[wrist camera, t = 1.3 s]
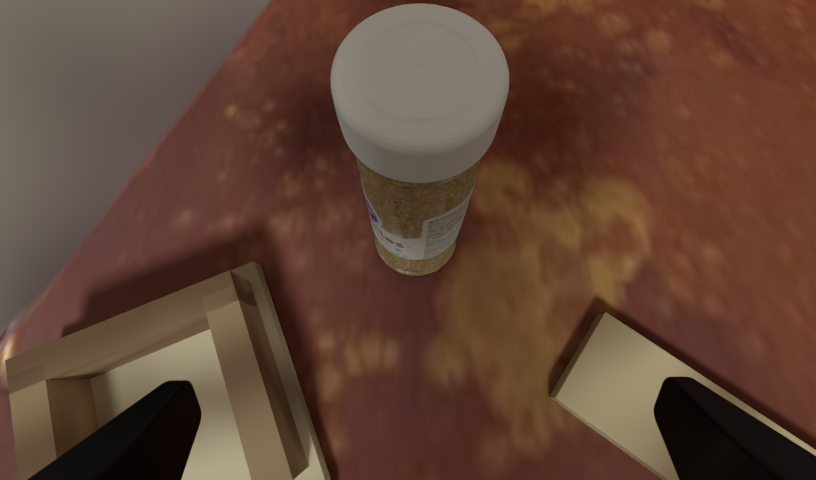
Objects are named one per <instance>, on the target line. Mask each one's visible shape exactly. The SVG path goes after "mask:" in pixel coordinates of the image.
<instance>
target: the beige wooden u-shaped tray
mask: <svg viewBox="0 0 816 480" xmlns="http://www.w3.org/2000/svg"><path fill="white" fill-rule="evenodd" d="M5 362H6V371H7V380H8V388H9V397H10V406H11V415H12V424H13V432H14V441H15V450H16V459H17V467H18V476H19V480H27V479H29V478H30V477H32V476H33V475H34V474H36V473H37V472H39V471H40V470H41V469H43V468H44V467H46V466H47V465H48V464H50V463H51V462H53V461H54V460H55V459H57V458H58V457H60V456H61V455H62V454H64V453H65V452H67V451H68V450H69V449H71V448H72V447H74V446H75V445H77V444H78V443H79V442H81V441H82V440H84V439H85V438H86V437H88V436H89V435H91V434H92V433H93V432H95V431H96V430H98V429H99V428H100V427H102V426H103V425H105V424H106V423H107V422H109V421H110V420H112V419H113V418H114V417H116V416H117V415H119V414H120V413H122V412H123V411H124V410H126V409H127V408H129V407H130V406H131V405H133V404H134V403H136V402H137V401H138V400H140V399H141V398H143V397H144V396H145V395H147V394H148V393H150V392H151V391H152V390H154V389H155V388H157V387H158V386H159V385H161V384H162V383H164V382H166V381H170V380H187V381H189V382H191V383H192V385H193V388H194V391H195V393H196V396H197V399H198V402H199V405H200V408H201V422H200V425H199V428H198V431H197V434H196V437H195V440H194V443H193V446H192V449H191V452H190V455H189V458H188V461H187V464H186V467H185V470H184V473H183V476H182V479H181V480H331V478H330V475H329V472H328V469H327V466H326V462H325V459H324V456H323V453H322V450H321V447H320V444H319V441H318V438H317V435H316V432H315V429H314V426H313V423H312V420H311V417H310V414H309V411H308V408H307V405H306V402H305V399H304V396H303V393H302V389H301V386H300V383H299V380H298V377H297V374H296V371H295V368H294V365H293V362H292V359H291V356H290V353H289V350H288V347H287V344H286V341H285V338H284V335H283V332H282V329H281V326H280V323H279V320H278V316H277V313H276V310H275V307H274V304H273V301H272V298H271V295H270V292H269V289H268V286H267V283H266V280H265V277H264V274H263V271H262V268H261V266H260V265H259V264H258V263H256V262H255V261H253V262H250V263H248V264H245V265H243V266H240V267H238V268H235V269H233V270H228V271H226V272H224V273H221V274H219V275H216V276H214V277H211V278H209V279H206V280H204V281H201V282H199V283H196V284H194V285H191V286H189V287H186V288H184V289H181V290H179V291H176V292H174V293H171V294H169V295H167V296H164V297H162V298H159V299H157V300H154V301H152V302H149V303H147V304H144V305H142V306H139V307H137V308H134V309H132V310H129V311H127V312H124V313H122V314H119V315H117V316H115V317H112V318H110V319H107V320H105V321H102V322H100V323H97V324H95V325H92V326H90V327H87V328H85V329H82V330H80V331H77V332H75V333H72V334H70V335H67V336H65V337H63V338H60V339H58V340H55V341H53V342H50V343H48V344H45V345H43V346H40V347H38V348H35V349H33V350H30V351H28V352H25V353H23V354H20V355H18V356H15V357H13V358H10V359H8V360H6V361H5Z"/></svg>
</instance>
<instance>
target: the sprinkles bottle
mask: <svg viewBox="0 0 816 480" xmlns="http://www.w3.org/2000/svg"><path fill="white" fill-rule="evenodd" d="M330 78H331V92H332V97H333V102H334V106H335V110H336V114H337V118H338V121H339V124H340V127H341V130H342V133H343V136H344V139H345V141H346V142H347V144H348V146H349V148H350V149H351V151H352V152H353V153H354V154H355V155H356V160H357V163H358V168H359V171H360V176H361V184H362V188H363V192H364V196H365V199H366V203H367V207H368V211H369V216H370V220H371V224H372V228H373V231H374V233H375V245H376V248H377V250H378V253H379V255H380V257H381V258H382V259H383V261H384V262H385V263H386V264H387V265H388V266H389V267H391V268H392V269H394V270H395V271H397V272H399V273H401V274H406V275H410V276H421V275H426V274H429V273H432V272H435V271H437V270H438V269H440V268H441V267H442V266H443V265H445V264H446V263H447V261H448V260H449V259H450V258H451V256H452V254H453V252H454V249H455V245H456V237H457V235H458V233H459V230H460V228H461V225H462V222H463V219H464V216H465V213H466V210H467V207H468V203H469V200H470V197H471V194H472V191H473V188H474V185H475V182H476V178H477V171H478V167H479V163H480V161H481V158H482V156H483V155H484V154H485V153H486V151H487V150H488V148H489V146H490V145H491V143H492V141H493V139H494V136H495V134H496V131H497V128H498V125H499V123H500V120H501V116H502V113H503V110H504V107H505V103H506V99H507V95H508V91H509V70H508V66H507V61H506V58H505V56H504V53H503V51H502V49H501V47H500V45H499V43H498V42H497V40H496V39H495V38H494V36H493V35H492V34H491V33H490V32H489V31H488V30H487V29H486V28H485V27H484V26H483V25H481V24H480V23H479V22H477V21H476V20H474V19H473V18H471V17H470V16H468V15H466V14H464V13H462V12H460V11H457V10H454V9H451V8H449V7H444V6H440V5H435V4H423V3H419V4H406V5H400V6H395V7H392V8H388V9H385V10H383V11H380V12H378V13H376V14H374V15H372V16H370V17H368V18H367V19H365V20H364V21H362V22H361V23H360V24H358V25H357V26H356V27H355V28H354V29H353V30H352V31H351V32H350V33H349V34H348V35H347V36H346V38H345V39H344V40H343V42H342V43H341V45H340V46H339V48H338V50H337V53H336V55H335V58H334V60H333V65H332V69H331V77H330Z"/></svg>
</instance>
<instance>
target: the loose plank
mask: <svg viewBox="0 0 816 480" xmlns="http://www.w3.org/2000/svg"><path fill="white" fill-rule="evenodd" d="M667 377H691V378H693V379H695V380H696V381H698V382H700V383H701V384H703V385H704V386H706V387H708V388H709V389H711V390H712V391H714V392H715V393H717V394H719V395H720V396H722V397H723V398H725V399H727V400H728V401H730V402H731V403H733V404H734V405H736V406H738V407H739V408H741V409H742V410H744V411H745V412H747V413H749V414H750V415H752V416H753V417H755V418H757V419H758V420H760V421H761V422H763V423H764V424H766V425H768V426H769V427H771V428H772V429H774V430H776V431H777V432H779V433H780V434H782V435H783V436H785V437H787V438H788V439H790V440H791V441H793V442H794V443H796V444H798V445H799V446H801V447H802V448H804V449H806V450H807V451H809V452H810V453H812V454H813V455H815V456H816V450H815V449H813V448H812V447H810V446H809V445H807V444H806V443H804V442H803V441H801V440H800V439H798V438H797V437H795V436H794V435H792V434H791V433H789V432H788V431H786V430H785V429H783V428H782V427H780V426H778V425H777V424H775V423H774V422H772V421H771V420H769V419H768V418H766V417H765V416H763V415H762V414H760V413H759V412H757V411H756V410H754V409H753V408H751V407H750V406H748V405H747V404H745V403H743V402H742V401H740V400H739V399H737V398H736V397H734V396H733V395H731V394H730V393H728V392H727V391H725V390H724V389H722V388H721V387H719V386H718V385H716V384H715V383H713V382H711V381H710V380H708V379H707V378H705V377H704V376H702V375H701V374H699V373H698V372H696V371H695V370H693V369H692V368H690V367H689V366H687V365H686V364H684V363H683V362H681V361H680V360H678V359H676V358H675V357H673V356H672V355H670V354H669V353H667V352H666V351H664V350H663V349H661V348H660V347H658V346H657V345H655V344H654V343H652V342H651V341H649V340H648V339H646V338H644V337H643V336H641V335H640V334H638V333H637V332H635V331H634V330H632V329H631V328H629V327H628V326H626V325H625V324H623V323H622V322H620V321H619V320H617V319H616V318H614V317H613V316H611V315H609V314H608V313H606V312H603V313H600V314H597V316H596V317H595V319H594V321H593V322H592V324H591V326H590V328H589V329H588V331H587V333H586V334H585V336H584V338H583V339H582V341H581V343H580V345H579V346H578V348H577V350H576V351H575V353H574V355H573V357H572V358H571V360H570V362H569V363H568V365H567V367H566V368H565V370H564V372H563V374H562V375H561V377H560V379H559V380H558V382H557V384H556V385H555V387H554V389H553V391H552V392H551V394H550V396H549V398H551V399H552V400H554V401H555V402H556V403H558V404H559V405H560V406H562V407H563V408H565V409H566V410H567V411H569V412H570V413H572V414H573V415H574V416H576V417H577V418H578V419H580V420H581V421H583V422H584V423H585V424H587V425H588V426H589V427H591V428H592V429H594V430H595V431H596V432H598V433H599V434H600V435H602V436H603V437H605V438H606V439H607V440H609V441H610V442H612V443H613V444H614V445H616V446H617V447H618V448H620V449H621V450H623V451H624V452H625V453H627V454H628V455H629V456H631V457H632V458H634V459H635V460H636V461H638V462H639V463H641V464H642V465H643V466H645V467H646V468H647V469H649V470H650V471H652V472H653V473H654V474H656V475H657V476H658V477H660V478H661V479H663V480H679V478H678V475H677V473H676V470H675V468H674V465H673V463H672V460H671V458H670V456H669V453H668V451H667V448H666V446H665V443H664V441H663V438H662V436H661V433H660V431H659V428H658V426H657V423H656V421H655V417H654V405H655V402H656V399H657V397H658V394H659V391H660V389H661V386H662V383H663V381H664V380H665V379H666V378H667Z"/></svg>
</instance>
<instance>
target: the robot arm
mask: <svg viewBox="0 0 816 480" xmlns="http://www.w3.org/2000/svg"><path fill="white" fill-rule="evenodd" d="M654 417H655V421H656V423H657V426H658V428H659V431H660V433H661V436H662V438H663V441H664V443H665V446H666V448H667V451H668V453H669V456H670V458H671V460H672V463H673V465H674V468H675V470H676V473H677V475H678V478H679V480H816V456H815V455H813V454H812V453H810V452H809V451H807V450H806V449H804V448H802V447H801V446H799V445H798V444H796V443H794V442H793V441H791V440H790V439H788V438H787V437H785V436H783V435H782V434H780V433H779V432H777V431H776V430H774V429H772V428H771V427H769V426H768V425H766V424H764V423H763V422H761V421H760V420H758V419H757V418H755V417H753V416H752V415H750V414H749V413H747V412H745V411H744V410H742V409H741V408H739V407H738V406H736V405H734V404H733V403H731V402H730V401H728V400H727V399H725V398H723V397H722V396H720V395H719V394H717V393H715V392H714V391H712V390H711V389H709V388H708V387H706V386H704V385H703V384H701V383H700V382H698V381H696V380H695V379H693V378H691V377H667V378H666V379H665V380H664V381H663V383H662V386H661V389H660V391H659V394H658V397H657V399H656V402H655V405H654ZM200 422H201V408H200V405H199V402H198V399H197V396H196V393H195V391H194V388H193V385H192V383H191V382H189V381H187V380H170V381H166V382H164V383H162V384H161V385H159V386H158V387H157V388H155V389H154V390H152V391H151V392H150V393H148V394H147V395H145V396H144V397H143V398H141V399H140V400H138V401H137V402H136V403H134V404H133V405H131V406H130V407H129V408H127V409H126V410H124V411H123V412H122V413H120V414H119V415H117V416H116V417H114V418H113V419H112V420H110V421H109V422H107V423H106V424H105V425H103V426H102V427H100V428H99V429H98V430H96V431H95V432H93V433H92V434H91V435H89V436H88V437H86V438H85V439H84V440H82V441H81V442H79V443H78V444H77V445H75V446H74V447H72V448H71V449H69V450H68V451H67V452H65V453H64V454H62V455H61V456H60V457H58V458H57V459H55V460H54V461H53V462H51V463H50V464H48V465H47V466H46V467H44V468H43V469H41V470H40V471H39V472H37V473H36V474H34V475H33V476H32V477H30V478H29V479H27V480H181V479H182V476H183V473H184V470H185V467H186V464H187V461H188V458H189V455H190V452H191V449H192V446H193V443H194V440H195V437H196V434H197V431H198V428H199V425H200Z"/></svg>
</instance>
